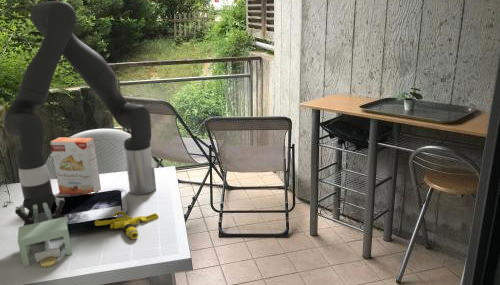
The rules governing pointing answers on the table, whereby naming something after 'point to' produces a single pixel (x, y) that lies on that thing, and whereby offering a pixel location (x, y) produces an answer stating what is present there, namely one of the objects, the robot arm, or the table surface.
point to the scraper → (46, 244)
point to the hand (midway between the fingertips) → (46, 233)
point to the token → (48, 262)
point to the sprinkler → (126, 223)
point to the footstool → (42, 235)
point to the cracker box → (75, 165)
